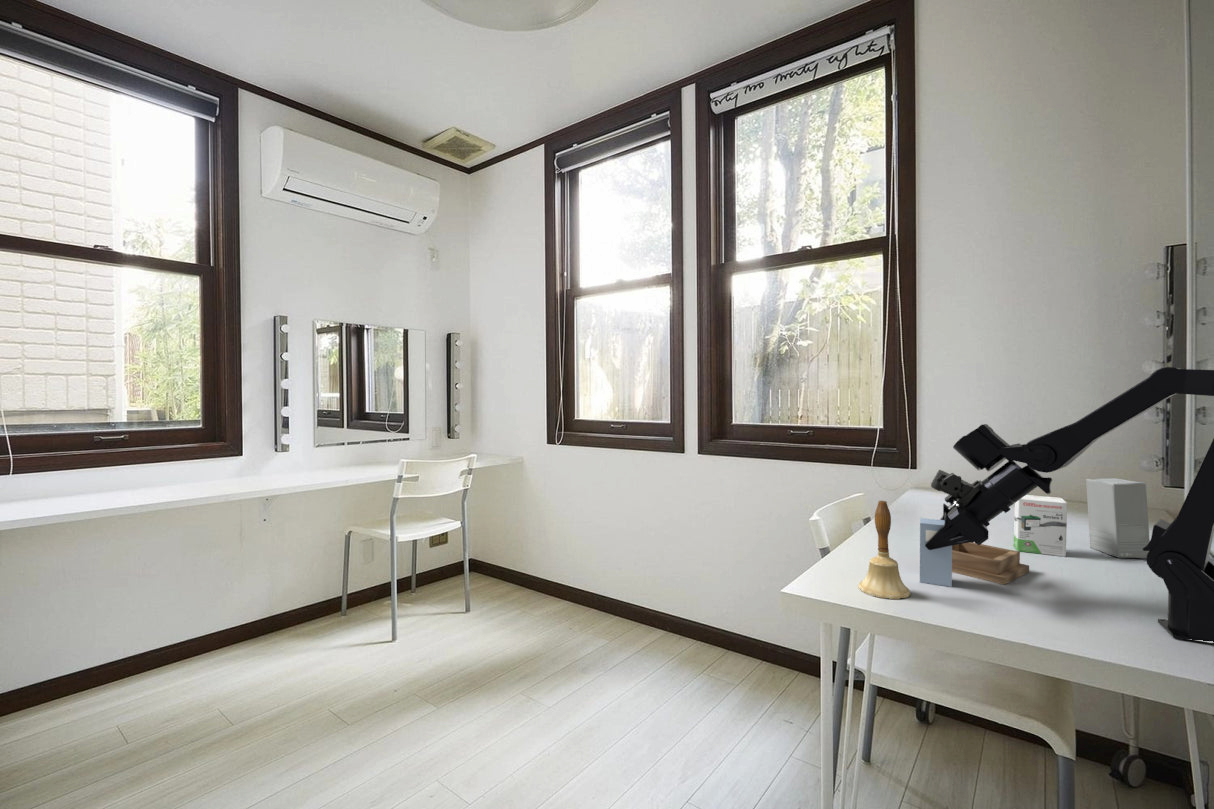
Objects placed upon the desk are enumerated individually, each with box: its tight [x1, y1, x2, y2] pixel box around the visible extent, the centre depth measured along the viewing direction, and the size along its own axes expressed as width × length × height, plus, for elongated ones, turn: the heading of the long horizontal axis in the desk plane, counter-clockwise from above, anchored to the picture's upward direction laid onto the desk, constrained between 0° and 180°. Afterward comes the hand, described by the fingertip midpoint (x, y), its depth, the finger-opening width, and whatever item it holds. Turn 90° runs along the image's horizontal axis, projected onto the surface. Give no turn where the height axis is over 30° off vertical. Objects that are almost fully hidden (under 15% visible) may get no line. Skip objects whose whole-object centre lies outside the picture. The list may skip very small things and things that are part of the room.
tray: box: [952, 542, 1030, 585], centre depth 108 cm, size 12×14×4 cm
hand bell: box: [857, 500, 911, 600], centre depth 97 cm, size 8×8×16 cm
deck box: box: [919, 517, 953, 588], centre depth 101 cm, size 5×5×11 cm
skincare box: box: [1085, 477, 1151, 559], centre depth 117 cm, size 8×7×16 cm
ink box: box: [1012, 494, 1068, 558], centre depth 119 cm, size 9×5×12 cm, turn 60°
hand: (926, 544), depth 102 cm, fingers closed on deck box, 5 cm apart
